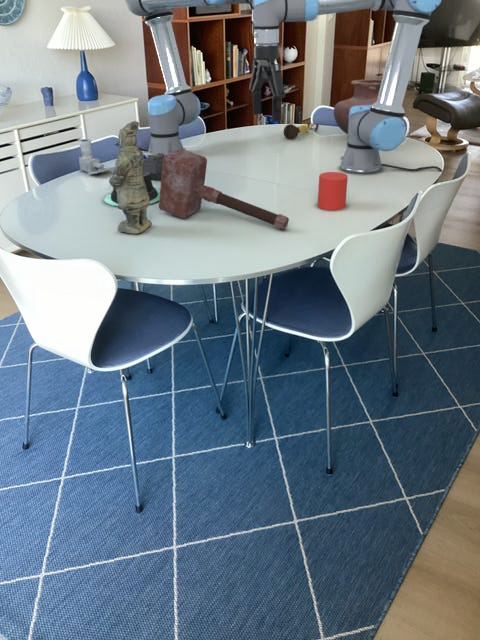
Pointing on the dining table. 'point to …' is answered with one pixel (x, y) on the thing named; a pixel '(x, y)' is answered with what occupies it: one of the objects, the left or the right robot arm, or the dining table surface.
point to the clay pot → (356, 100)
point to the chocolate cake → (152, 192)
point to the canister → (332, 190)
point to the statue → (131, 182)
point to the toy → (154, 165)
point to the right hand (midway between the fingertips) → (266, 117)
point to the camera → (90, 159)
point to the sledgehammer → (200, 190)
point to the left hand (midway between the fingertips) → (261, 85)
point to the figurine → (297, 130)
